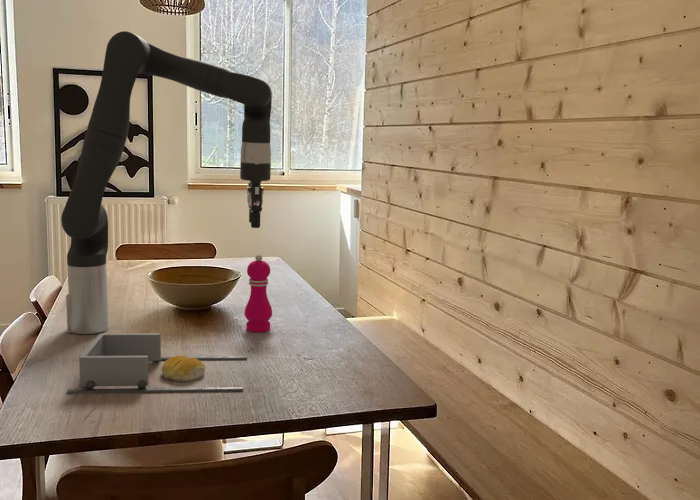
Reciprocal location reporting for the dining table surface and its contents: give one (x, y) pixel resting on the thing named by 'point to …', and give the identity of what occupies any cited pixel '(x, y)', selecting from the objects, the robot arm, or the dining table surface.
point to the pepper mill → (258, 297)
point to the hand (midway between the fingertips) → (254, 225)
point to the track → (142, 390)
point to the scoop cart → (119, 360)
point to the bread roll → (183, 368)
